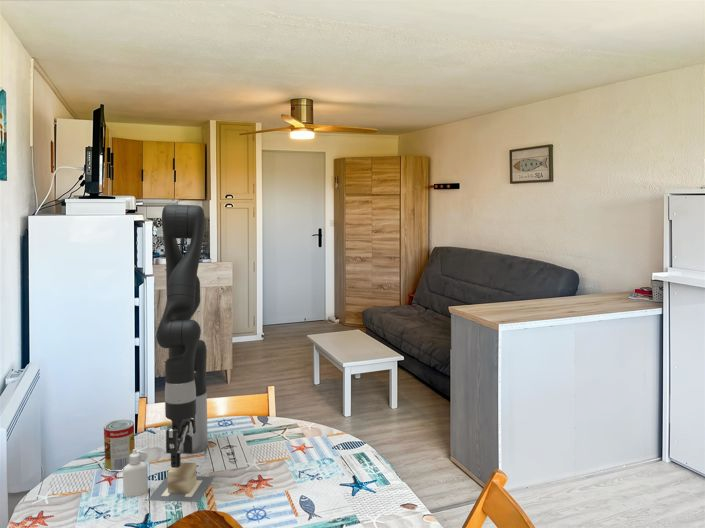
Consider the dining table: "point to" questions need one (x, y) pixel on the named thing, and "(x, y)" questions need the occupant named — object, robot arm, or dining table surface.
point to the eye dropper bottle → (135, 476)
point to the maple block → (182, 478)
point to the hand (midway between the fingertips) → (182, 459)
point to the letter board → (193, 496)
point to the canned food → (118, 443)
